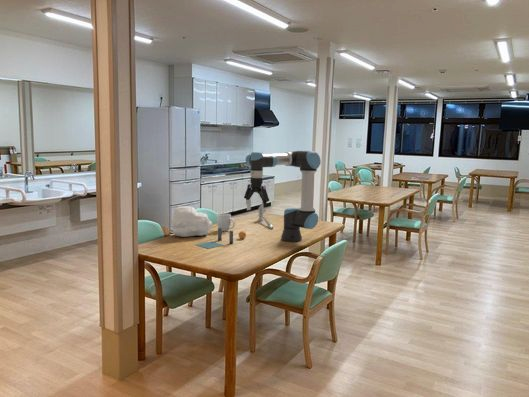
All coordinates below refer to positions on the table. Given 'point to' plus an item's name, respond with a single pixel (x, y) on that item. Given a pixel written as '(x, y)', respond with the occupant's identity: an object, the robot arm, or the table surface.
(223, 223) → the mug
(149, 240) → the table surface
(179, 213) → the sculpture
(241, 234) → the ball
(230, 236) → the post
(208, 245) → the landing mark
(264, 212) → the robot arm
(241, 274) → the table surface
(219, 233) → the post
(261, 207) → the hammer
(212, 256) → the table surface
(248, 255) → the table surface
